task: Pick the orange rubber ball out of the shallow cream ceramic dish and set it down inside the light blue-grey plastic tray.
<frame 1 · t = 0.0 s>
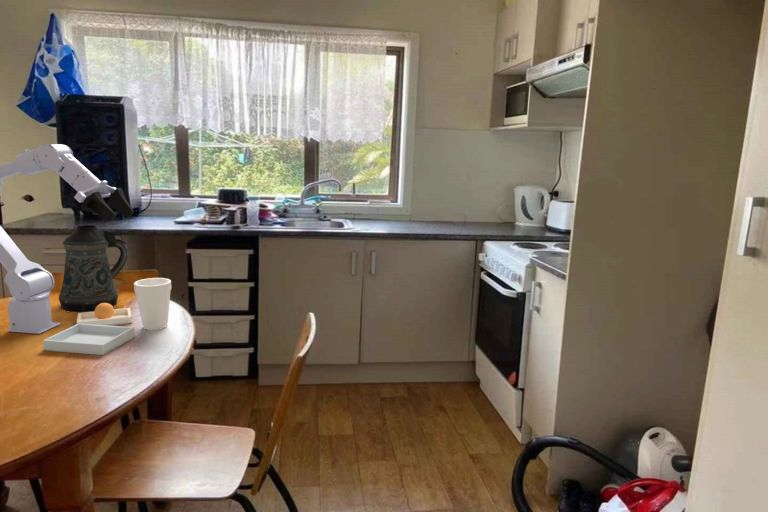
hand: (122, 216, 137), 32 cm above the table, tool tilted 50°, fingers open, 7 cm apart
dish: (105, 321, 154), on the table
ball: (104, 311, 153), point 3 cm above the table, touching dish
foam cup: (155, 327, 151), on the table
tray: (91, 343, 137), on the table
beer stein: (94, 304, 170), on the table
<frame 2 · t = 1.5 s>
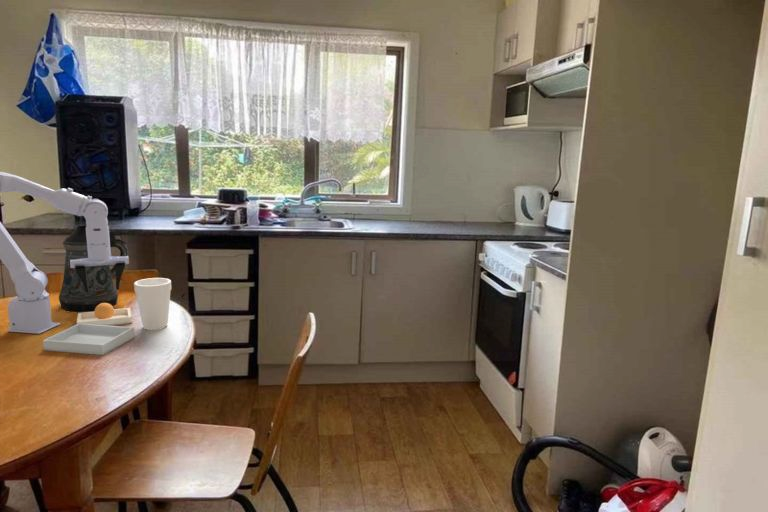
hand: (102, 290, 152), 9 cm above the table, tool pointing down, fingers open, 7 cm apart
nothing on the table moved.
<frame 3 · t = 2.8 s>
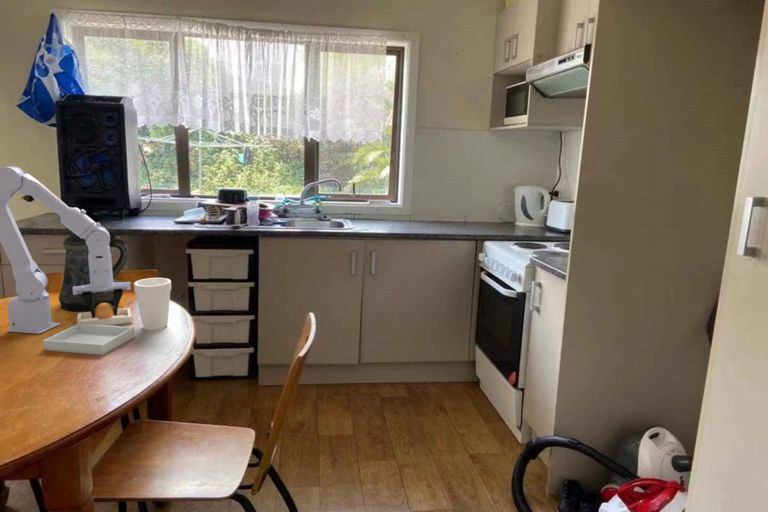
hand: (104, 315, 153), 2 cm above the table, tool pointing down, fingers closed on ball, 5 cm apart
ball: (104, 311, 153), point 3 cm above the table, touching dish, gripper
everything else where it was.
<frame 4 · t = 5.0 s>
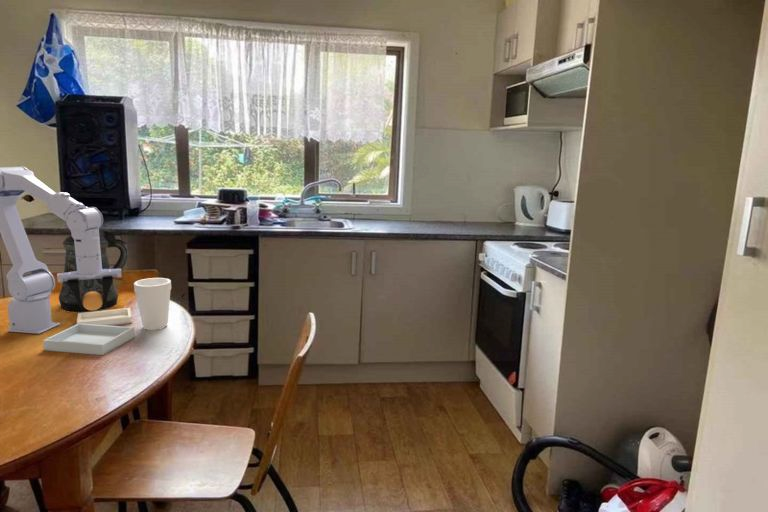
hand: (93, 305, 140), 9 cm above the table, tool pointing down, fingers closed on ball, 5 cm apart
ball: (92, 300, 140), point 10 cm above the table, touching gripper
everything else where it was.
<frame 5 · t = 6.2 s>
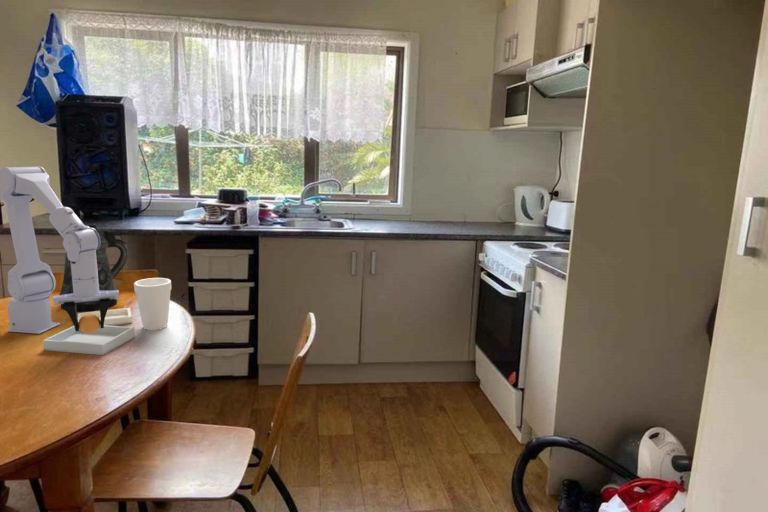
hand: (89, 328, 137), 4 cm above the table, tool pointing down, fingers closed on ball, 5 cm apart
ball: (89, 323, 136), point 5 cm above the table, touching gripper
everything else where it was.
when the fingers open (3 cm above the table, at t = 7.2 s): ball drops 1 cm, resting on tray.
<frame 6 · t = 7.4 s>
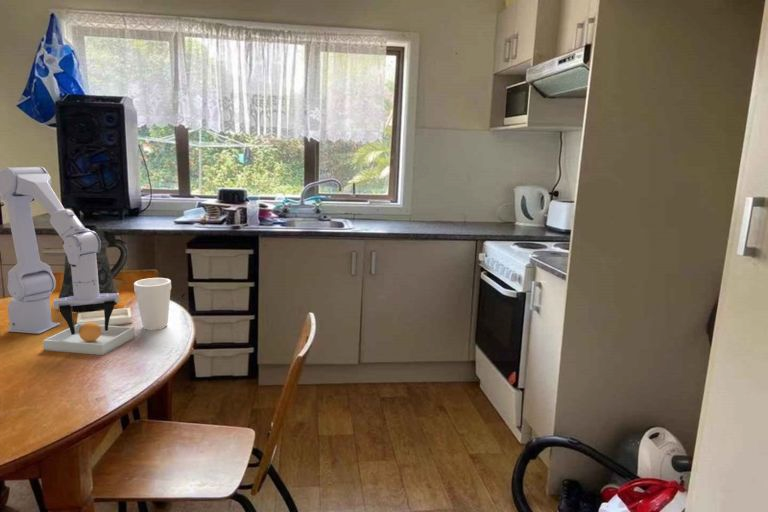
hand: (90, 331, 137), 3 cm above the table, tool pointing down, fingers open, 7 cm apart
ball: (90, 331, 137), point 3 cm above the table, touching tray
everything else where it was.
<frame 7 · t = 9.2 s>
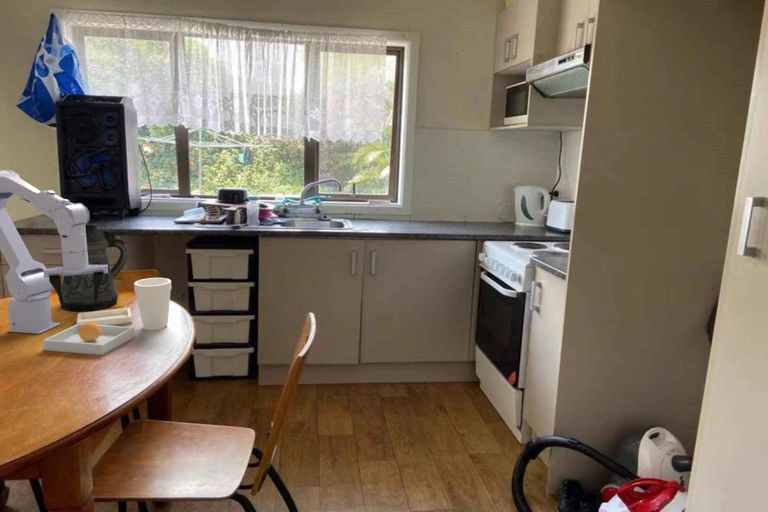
hand: (79, 301, 141), 9 cm above the table, tool pointing down, fingers open, 7 cm apart
nothing on the table moved.
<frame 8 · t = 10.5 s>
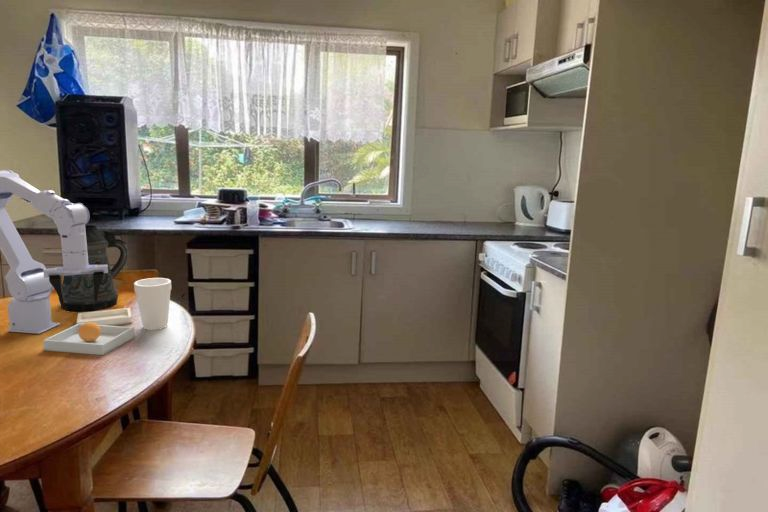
hand: (79, 301, 141), 9 cm above the table, tool pointing down, fingers open, 7 cm apart
nothing on the table moved.
at the end: ball inside the target area on the tray (0.1 cm from its centre), point 3.1 cm above the tray's base; the gripper is holding nothing; ball touching tray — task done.
